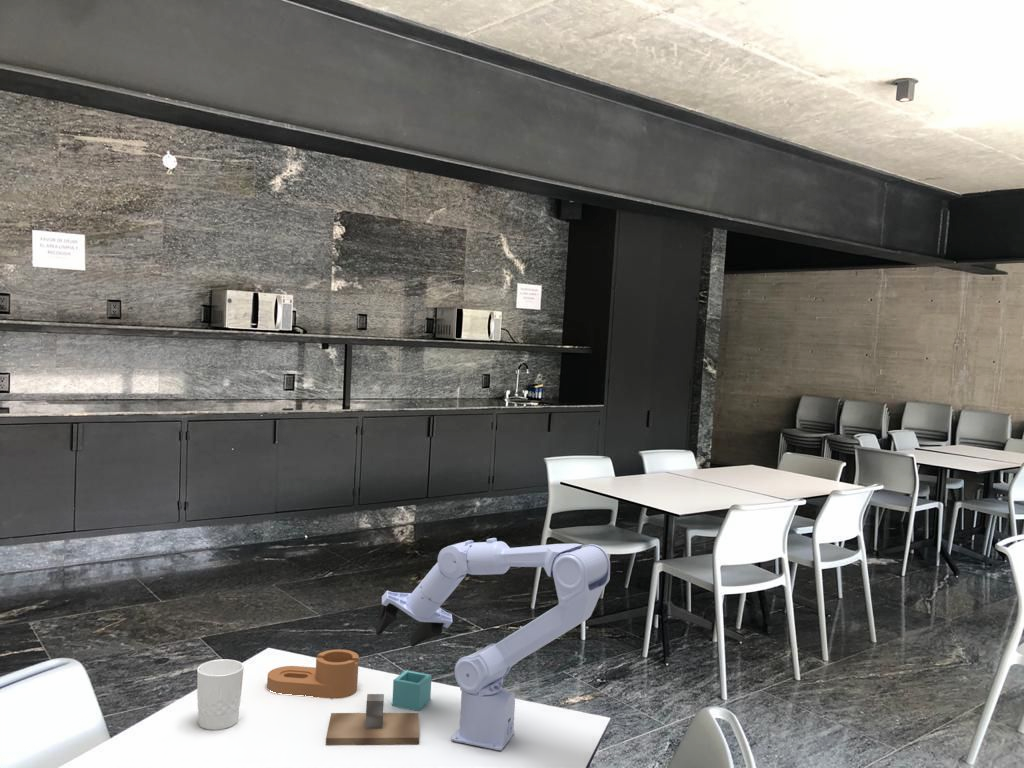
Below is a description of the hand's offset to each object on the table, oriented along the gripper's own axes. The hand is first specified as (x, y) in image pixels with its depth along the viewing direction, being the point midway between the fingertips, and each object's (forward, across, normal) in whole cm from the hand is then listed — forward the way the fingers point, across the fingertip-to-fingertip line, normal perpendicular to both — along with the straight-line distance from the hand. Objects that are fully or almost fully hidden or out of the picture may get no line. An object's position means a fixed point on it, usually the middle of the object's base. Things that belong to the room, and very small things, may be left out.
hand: (394, 636), depth 158 cm
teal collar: (+9, -9, +6) cm, 14 cm away
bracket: (+22, +6, -1) cm, 23 cm away
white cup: (+23, +24, +11) cm, 34 cm away
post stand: (+7, 0, +16) cm, 18 cm away
